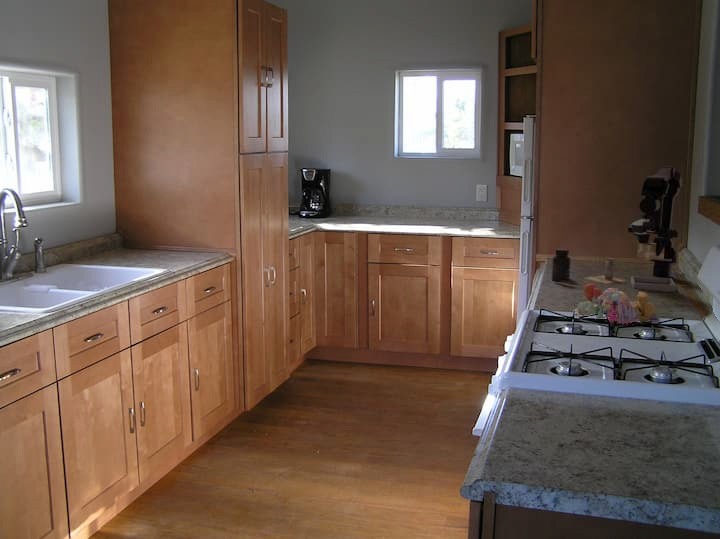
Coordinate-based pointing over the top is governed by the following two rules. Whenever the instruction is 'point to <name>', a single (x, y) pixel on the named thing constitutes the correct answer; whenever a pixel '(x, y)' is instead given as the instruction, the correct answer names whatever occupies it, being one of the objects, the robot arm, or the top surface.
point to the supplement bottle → (561, 265)
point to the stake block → (606, 274)
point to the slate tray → (653, 286)
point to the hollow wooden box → (648, 251)
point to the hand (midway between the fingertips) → (650, 254)
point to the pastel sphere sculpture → (616, 305)
